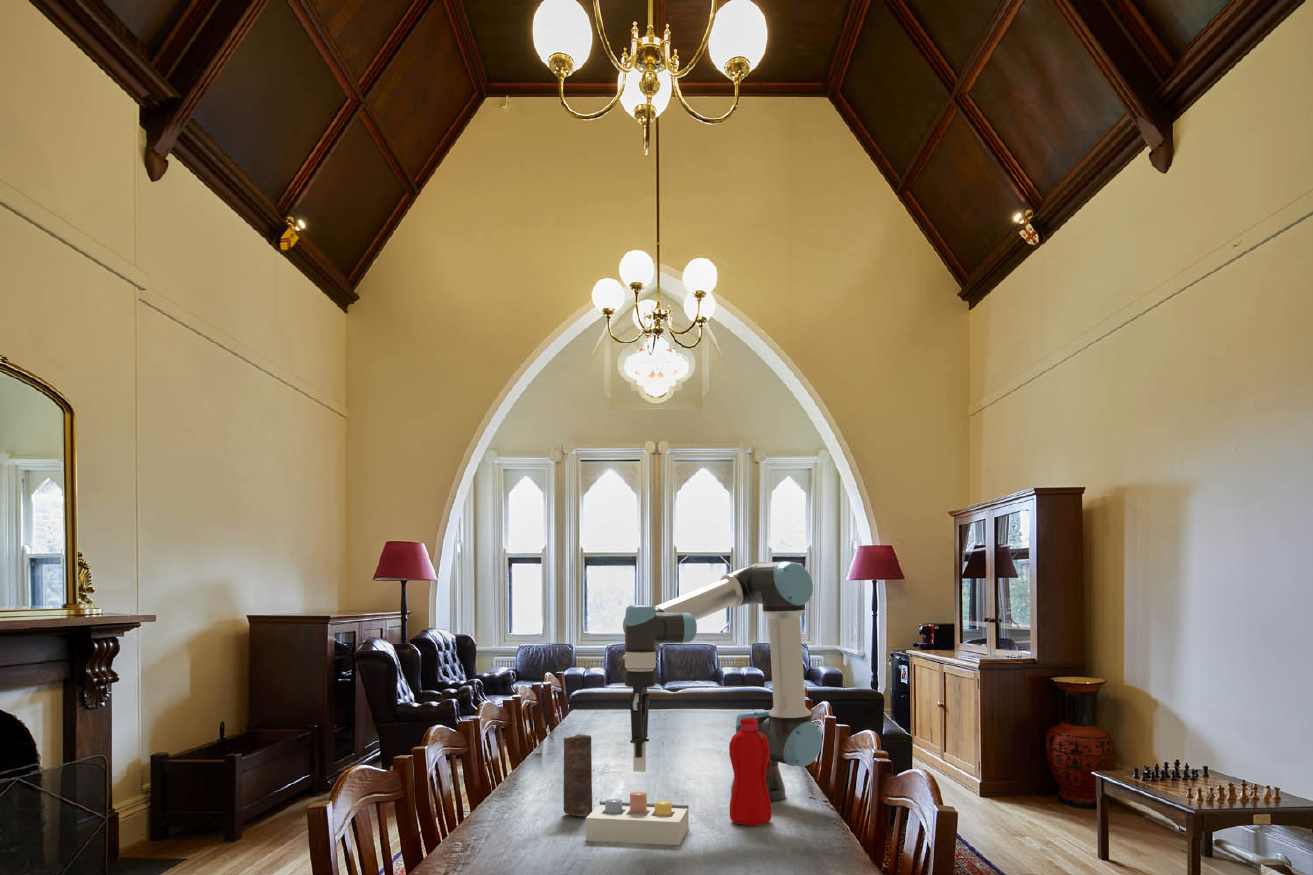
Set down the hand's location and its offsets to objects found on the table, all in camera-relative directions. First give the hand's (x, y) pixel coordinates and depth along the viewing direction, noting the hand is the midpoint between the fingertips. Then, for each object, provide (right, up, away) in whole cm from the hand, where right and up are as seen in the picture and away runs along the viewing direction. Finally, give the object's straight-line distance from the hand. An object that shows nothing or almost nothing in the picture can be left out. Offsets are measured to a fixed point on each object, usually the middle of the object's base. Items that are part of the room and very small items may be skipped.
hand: (639, 770), depth 219 cm
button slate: (-6, -11, 0) cm, 13 cm away
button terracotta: (0, -9, -1) cm, 9 cm away
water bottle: (+28, -16, +9) cm, 34 cm away
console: (0, -14, -2) cm, 15 cm away
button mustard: (+6, -11, -3) cm, 12 cm away
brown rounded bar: (-16, -17, +16) cm, 29 cm away
